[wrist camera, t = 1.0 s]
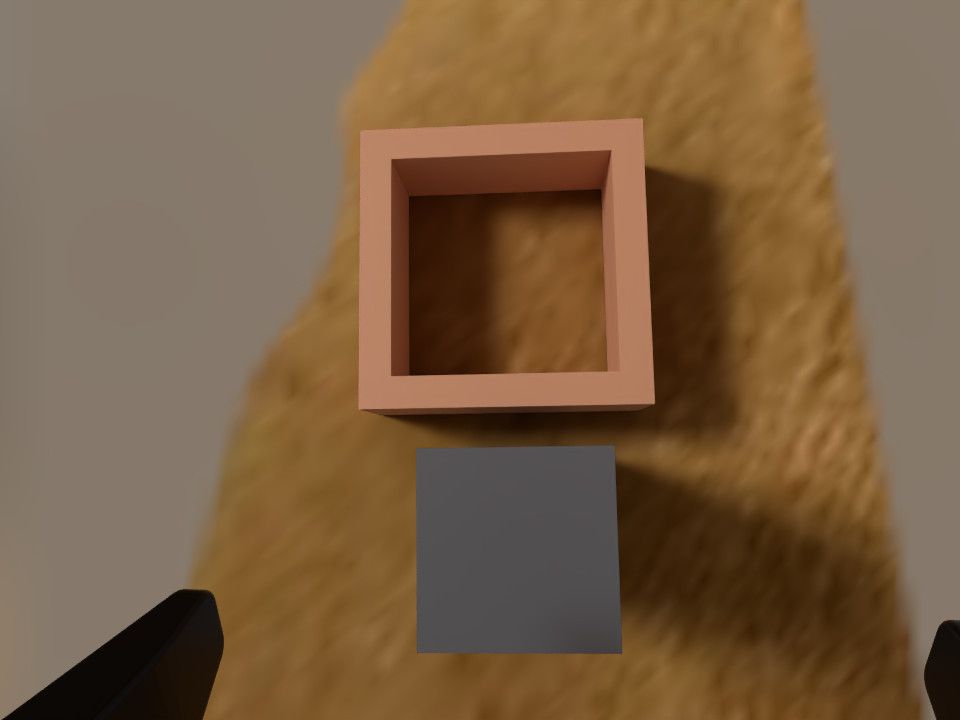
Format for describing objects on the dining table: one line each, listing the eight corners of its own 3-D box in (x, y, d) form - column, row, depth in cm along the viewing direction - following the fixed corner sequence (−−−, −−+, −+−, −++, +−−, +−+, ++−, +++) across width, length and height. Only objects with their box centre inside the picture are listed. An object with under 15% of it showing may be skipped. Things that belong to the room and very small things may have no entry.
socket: (638, 410, 26) (655, 403, 22) (381, 415, 26) (358, 409, 23) (628, 161, 27) (642, 118, 23) (382, 171, 28) (360, 130, 24)
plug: (583, 567, 25) (622, 653, 14) (465, 568, 26) (417, 652, 15) (579, 449, 26) (614, 445, 15) (464, 450, 26) (416, 448, 15)
